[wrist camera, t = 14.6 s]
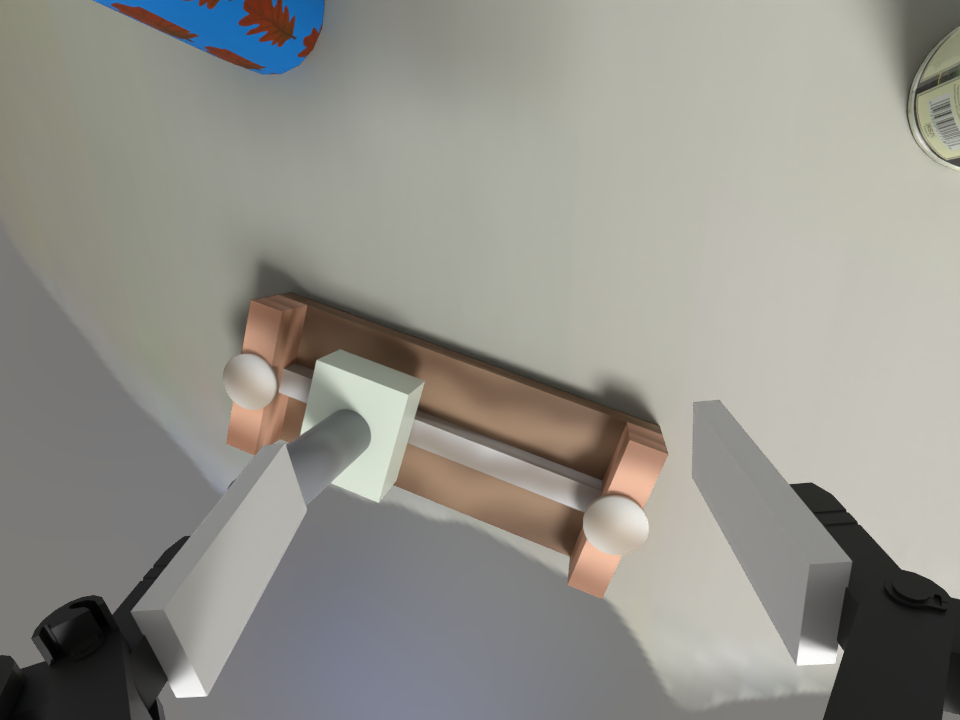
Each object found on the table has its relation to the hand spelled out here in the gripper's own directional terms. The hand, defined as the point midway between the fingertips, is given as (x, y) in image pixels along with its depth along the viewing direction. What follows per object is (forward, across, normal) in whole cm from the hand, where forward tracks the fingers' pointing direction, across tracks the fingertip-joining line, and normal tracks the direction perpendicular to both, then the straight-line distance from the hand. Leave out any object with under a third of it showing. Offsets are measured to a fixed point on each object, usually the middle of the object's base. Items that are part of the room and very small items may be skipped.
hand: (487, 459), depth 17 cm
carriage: (+26, -13, -11) cm, 31 cm away
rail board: (+29, -7, -14) cm, 33 cm away
